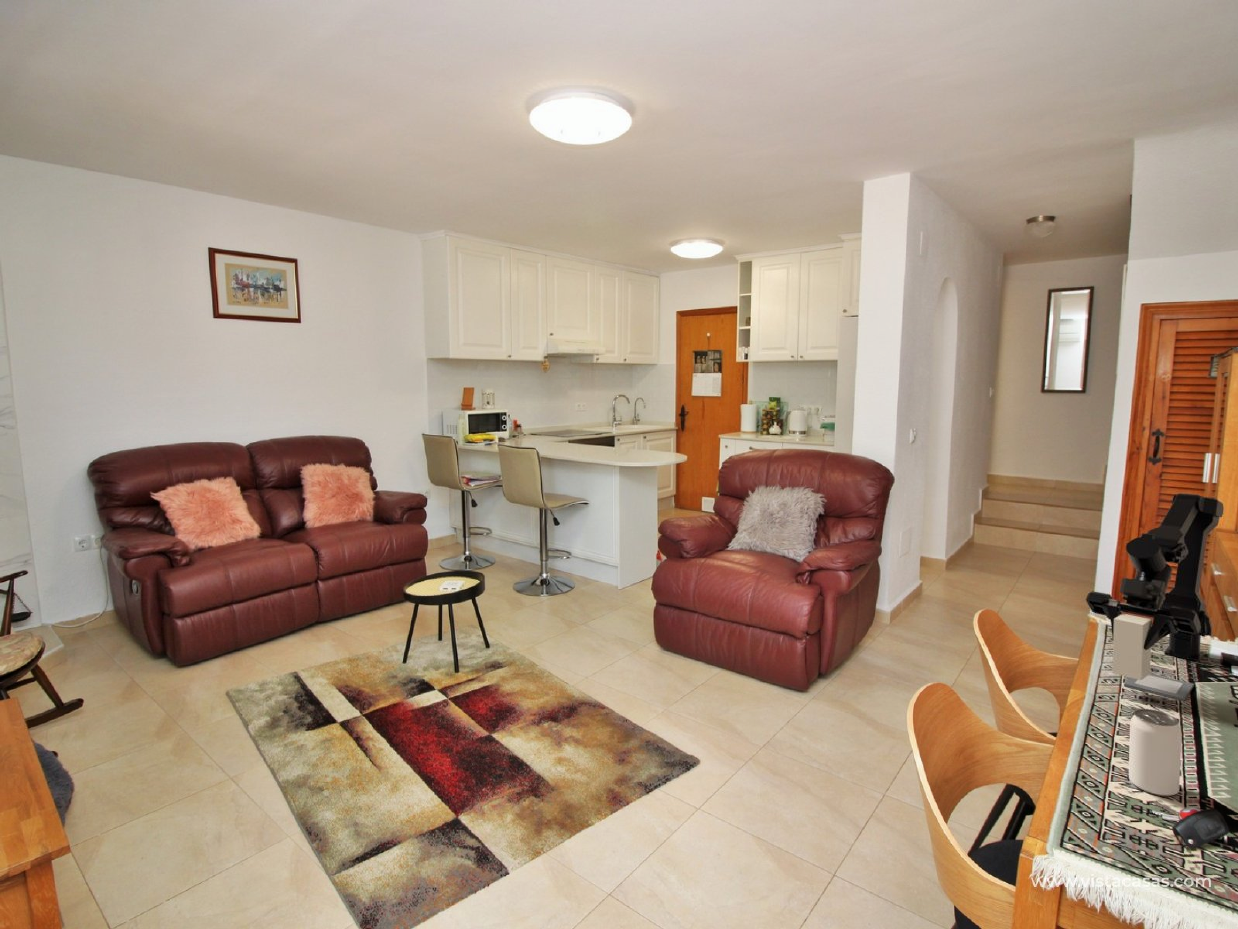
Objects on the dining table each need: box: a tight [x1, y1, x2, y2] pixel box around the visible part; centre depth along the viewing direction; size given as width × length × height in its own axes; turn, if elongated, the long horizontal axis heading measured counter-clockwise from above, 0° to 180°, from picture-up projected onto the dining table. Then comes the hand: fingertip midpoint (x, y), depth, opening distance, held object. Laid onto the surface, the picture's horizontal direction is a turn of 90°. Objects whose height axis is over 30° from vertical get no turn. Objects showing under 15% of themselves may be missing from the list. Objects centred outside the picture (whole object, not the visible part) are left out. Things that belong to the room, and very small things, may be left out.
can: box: [1128, 708, 1182, 797], centre depth 105 cm, size 6×6×12 cm
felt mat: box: [1123, 673, 1195, 702], centre depth 140 cm, size 10×10×1 cm
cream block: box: [1112, 613, 1153, 680], centre depth 136 cm, size 5×5×12 cm
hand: (1129, 645), depth 135 cm, fingers closed on cream block, 5 cm apart
